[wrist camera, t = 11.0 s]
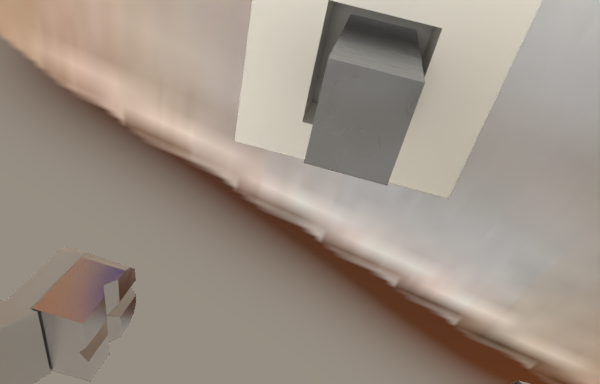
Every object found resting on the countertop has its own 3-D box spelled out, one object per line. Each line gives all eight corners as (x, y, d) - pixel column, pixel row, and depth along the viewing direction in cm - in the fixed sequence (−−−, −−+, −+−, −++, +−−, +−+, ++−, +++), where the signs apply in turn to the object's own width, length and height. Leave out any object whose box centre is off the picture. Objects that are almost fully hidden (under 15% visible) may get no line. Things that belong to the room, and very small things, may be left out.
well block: (522, -17, 24) (544, -5, 21) (442, 165, 31) (448, 198, 27) (281, -75, 25) (261, -74, 21) (253, 114, 32) (234, 141, 28)
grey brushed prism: (416, 29, 26) (424, 82, 17) (390, 107, 29) (387, 185, 20) (350, 13, 26) (328, 57, 18) (331, 92, 29) (303, 162, 20)
